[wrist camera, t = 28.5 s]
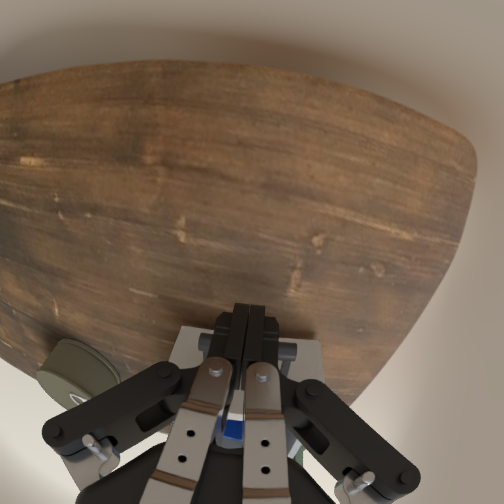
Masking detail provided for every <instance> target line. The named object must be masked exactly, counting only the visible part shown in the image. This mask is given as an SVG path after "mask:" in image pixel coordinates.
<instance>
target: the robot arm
mask: <svg viewBox="0 0 504 504" xmlns="http://www.w3.org/2000/svg"><path fill="white" fill-rule="evenodd" d="M249 308H250V314H249ZM278 349H279V324H278V322H277V320H276V318H275V317H267V316H265V306H261V305H251V307H250V304H241V303H235V305H234V309H233V313H229V312H223V313H222V314H221V315H220V316H219V317H218V318H217V321H216V325H215V328H214V332H213V336H212V339H211V343H210V347H209V351H208V354H207V357H206V359H205V360H204V361H203V362H202V363H201V364H200V365H199V366H196V367H193V368H185V369H179V367H178V366H177V365H176V364H174V363H172V362H168V361H163V362H158V363H156V364H154V365H152V366H151V367H149V368H147V369H145V370H143V371H142V372H140V373H138V374H136V375H134V376H133V377H131V378H129V379H127V380H125V381H123V382H122V383H120V384H118V385H116V386H114V387H112V388H110V389H108V390H107V391H105V392H103V393H101V394H99V395H97V396H95V397H93V398H91V399H89V400H87V401H85V402H83V403H81V404H80V405H78V406H76V407H74V408H72V409H70V410H68V411H65V412H64V413H62V414H59V415H57V416H55V417H53V418H51V419H49V420H48V421H46V423H45V424H44V425H43V428H42V437H43V439H44V441H45V442H46V443H47V444H48V445H49V446H50V447H51V448H53V449H54V451H55V452H56V453H57V454H59V455H60V456H61V458H62V460H63V462H64V464H65V466H66V467H67V469H68V471H69V473H70V475H71V476H72V478H73V480H74V481H75V483H76V485H77V486H78V488H79V490H80V491H81V492H80V493H79V495H78V496H77V499H76V502H75V504H336V503H335V502H334V501H333V500H332V499H331V498H330V497H329V496H328V495H327V494H326V493H325V491H324V490H323V489H322V488H321V487H320V486H319V485H318V484H317V483H316V481H315V480H314V479H313V478H312V477H311V476H310V475H309V474H308V472H307V471H306V470H305V469H304V468H303V467H302V466H301V465H300V464H299V463H298V462H296V461H295V460H293V459H291V458H290V457H288V456H287V447H286V431H285V424H286V427H287V428H288V429H289V430H290V432H291V433H292V434H293V435H294V436H295V437H296V438H297V439H298V440H299V442H300V443H301V444H302V445H303V446H304V447H305V448H306V449H307V450H308V451H309V452H310V453H311V454H312V456H313V457H314V458H315V459H316V460H317V461H318V462H319V463H320V464H321V465H322V466H323V467H324V468H325V469H326V470H327V471H328V472H329V473H330V474H331V475H332V476H333V477H334V478H335V479H336V480H337V481H338V482H337V483H336V485H335V489H334V493H335V496H336V497H337V499H338V500H339V502H340V504H391V503H392V502H394V501H395V500H397V499H399V498H401V497H403V496H405V495H407V494H409V493H411V492H412V491H414V490H415V489H416V488H417V487H418V485H419V483H420V479H421V476H420V472H419V470H418V468H417V467H416V466H415V465H413V464H412V463H411V462H410V461H409V460H407V459H406V458H405V457H404V456H403V455H402V454H400V453H399V452H398V451H397V450H396V449H395V448H394V447H393V446H391V445H390V444H389V443H388V442H387V441H386V440H384V439H383V438H382V437H381V436H380V435H379V434H378V433H377V432H376V431H374V430H373V429H372V428H371V427H370V426H369V425H368V424H367V423H365V421H364V420H362V419H361V418H360V417H359V416H358V415H357V414H356V413H355V412H354V411H353V410H352V409H350V408H349V407H348V406H347V405H346V404H345V403H344V402H343V401H342V400H341V399H340V398H339V397H338V396H337V395H336V394H335V393H333V392H332V391H331V390H330V389H329V388H328V387H327V386H326V385H325V384H324V383H323V382H321V381H319V380H316V379H306V380H303V381H301V382H297V381H294V380H291V379H289V378H287V377H285V376H284V375H283V374H282V373H281V372H280V370H279V367H278ZM241 375H242V379H241ZM240 382H241V390H242V391H244V400H243V418H242V443H241V448H233V449H227V448H223V447H222V440H223V435H224V431H225V427H226V423H227V420H228V416H229V412H230V408H231V404H232V400H233V396H234V390H239V388H240ZM173 421H174V422H173ZM172 422H173V425H172V427H171V430H170V432H169V435H168V438H167V440H166V442H163V443H160V444H157V445H155V446H153V447H152V448H150V449H148V450H147V451H145V452H144V453H142V454H141V455H139V456H138V457H136V458H135V459H133V460H131V461H130V462H128V463H126V464H125V465H123V466H121V467H120V468H118V469H117V470H115V471H113V472H111V471H112V470H113V469H115V468H116V467H117V466H118V464H119V462H120V453H122V452H124V451H125V450H127V449H129V448H131V447H132V446H134V445H136V444H138V443H139V442H141V441H143V440H144V439H146V438H148V437H149V436H151V435H153V434H154V433H156V432H157V431H159V430H161V429H162V428H164V427H165V426H167V425H169V424H170V423H172Z"/></svg>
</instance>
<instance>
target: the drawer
mask: <svg viewBox="0 0 504 504" xmlns="http://www.w3.org/2000/svg"><path fill="white" fill-rule="evenodd" d="M213 332H214V330H208V329H201V328H195V327H188V326H182V327H181V330H180V332H179V335H178V337H177V340H176V343H175V345H174V348H173V350H172V353H171V356H170V358H169V361H168V362H172V363H174V364H176V365H177V366H178V367H179V369H185V368H193V367H196V366H199V365H200V364H201V363H202V362H203V361H204V360H205V359H206V357H207V354H208V351H209V347H210V343H211V339H212V336H213ZM278 367H279V370H280V372H281V373H282V374H283V375H284V376H285V377H287V378H289V379H291V380H294V381H297V382H301V381H303V380H306V379H316V380H319V381H321V382H323V383H324V384H325V379H324V369H323V360H322V351H321V342H320V341H317V340H302V339H289V338H279V349H278ZM241 379H242V375H241ZM243 400H244V391H242V390H241V382H240V388H239V390H234V396H233V400H232V404H231V408H230V412H229V416H228V419H230V420H238V421H242V418H243ZM173 422H174V421H173ZM285 431H286V447H287V456H288V457H290V458H291V459H293V458H294V456H295V455H296V453H297V451H298V450H299V448H300V446H301V445H302V444H301V443H300V442H299V440H298V439H297V438H296V437H295V436H294V435H293V434H292V433H291V432H290V430H289V429H288V428H287V427H286V424H285ZM241 443H242V441H237V440H232V439H228V438H225V437H223V440H222V447H223V448H227V449H233V448H241Z"/></svg>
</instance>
